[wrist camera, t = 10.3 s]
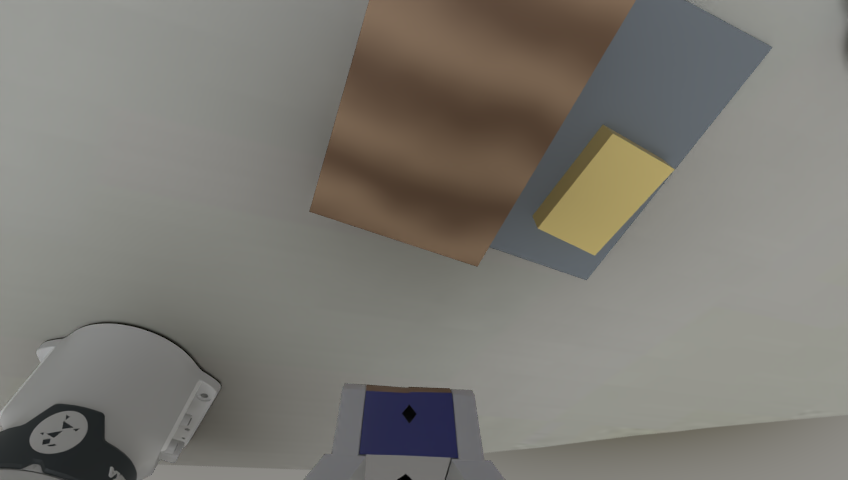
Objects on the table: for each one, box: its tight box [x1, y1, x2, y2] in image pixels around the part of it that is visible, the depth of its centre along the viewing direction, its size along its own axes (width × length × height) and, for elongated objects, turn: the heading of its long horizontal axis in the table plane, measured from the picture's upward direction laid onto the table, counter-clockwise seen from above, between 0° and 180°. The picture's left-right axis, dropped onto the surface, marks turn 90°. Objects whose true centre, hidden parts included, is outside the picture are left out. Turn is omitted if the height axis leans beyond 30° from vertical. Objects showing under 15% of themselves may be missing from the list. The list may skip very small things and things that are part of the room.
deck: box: [309, 0, 636, 266], centre depth 29 cm, size 22×14×4 cm, turn 158°
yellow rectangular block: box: [533, 125, 675, 255], centre depth 33 cm, size 9×6×2 cm, turn 153°
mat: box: [489, 0, 772, 280], centre depth 33 cm, size 22×11×1 cm, turn 158°
